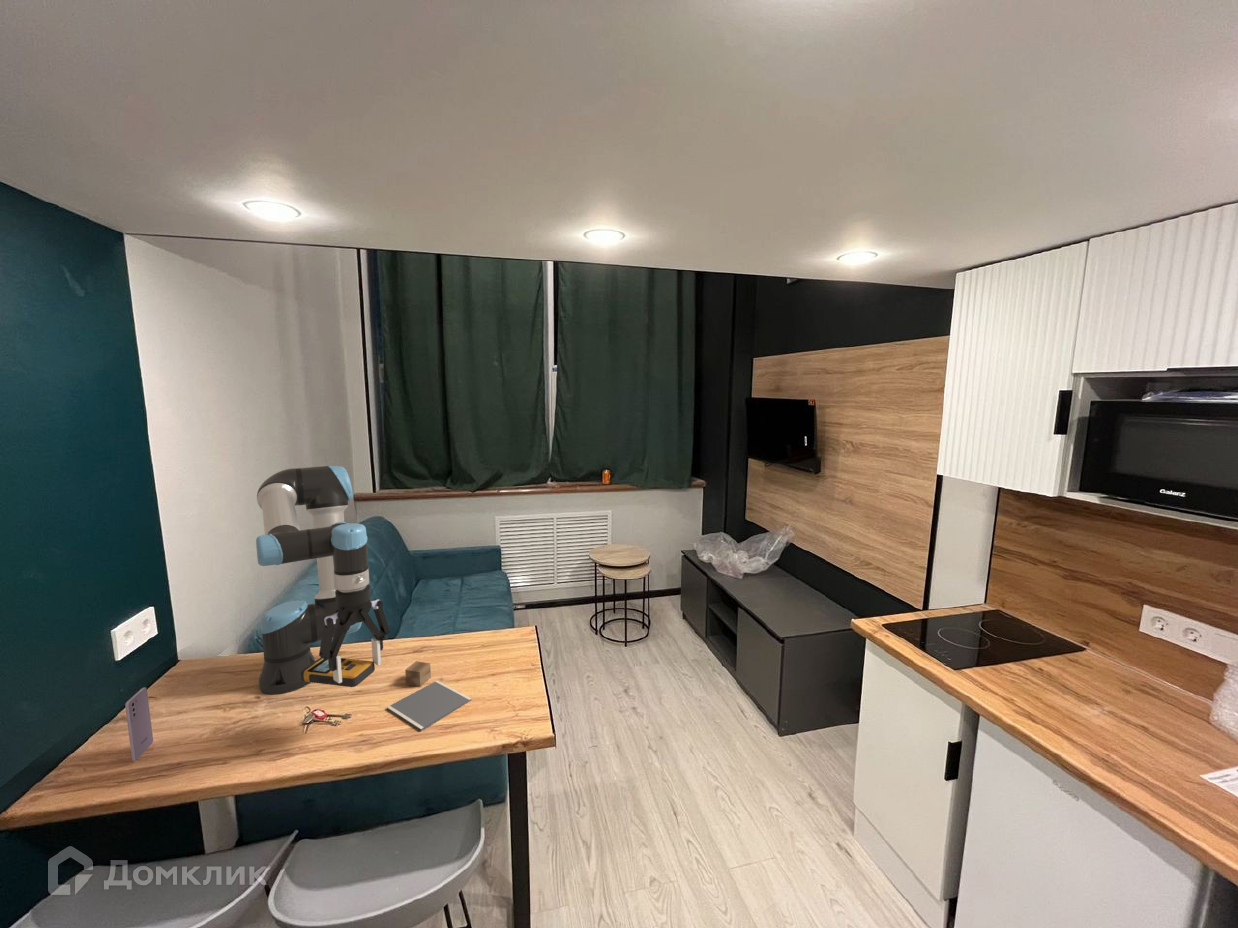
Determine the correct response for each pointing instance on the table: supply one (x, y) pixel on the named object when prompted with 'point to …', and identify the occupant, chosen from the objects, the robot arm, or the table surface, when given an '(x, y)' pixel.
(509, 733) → the table surface
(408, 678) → the walnut block
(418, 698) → the mat
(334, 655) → the robot arm
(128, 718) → the smartphone
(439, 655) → the table surface
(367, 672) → the electronic device
